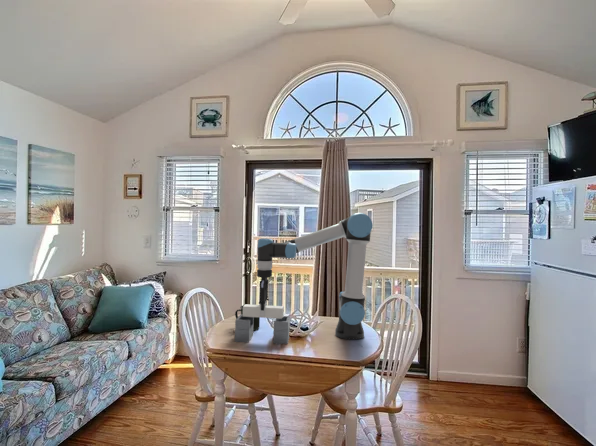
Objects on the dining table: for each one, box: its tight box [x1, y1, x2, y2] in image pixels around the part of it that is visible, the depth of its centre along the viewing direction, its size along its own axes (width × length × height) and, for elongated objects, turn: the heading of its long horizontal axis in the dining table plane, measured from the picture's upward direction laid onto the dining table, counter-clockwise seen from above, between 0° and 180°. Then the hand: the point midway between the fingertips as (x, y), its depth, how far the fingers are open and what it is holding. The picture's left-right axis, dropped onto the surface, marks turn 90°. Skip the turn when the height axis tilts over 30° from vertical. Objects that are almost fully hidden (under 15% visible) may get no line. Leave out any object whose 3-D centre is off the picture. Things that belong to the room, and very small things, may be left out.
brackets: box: [234, 313, 291, 345], centre depth 176 cm, size 26×11×10 cm, turn 87°
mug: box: [234, 304, 261, 332], centre depth 194 cm, size 11×15×12 cm
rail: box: [242, 303, 285, 319], centre depth 176 cm, size 20×5×5 cm, turn 85°
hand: (263, 314), depth 176 cm, fingers closed on rail, 5 cm apart
